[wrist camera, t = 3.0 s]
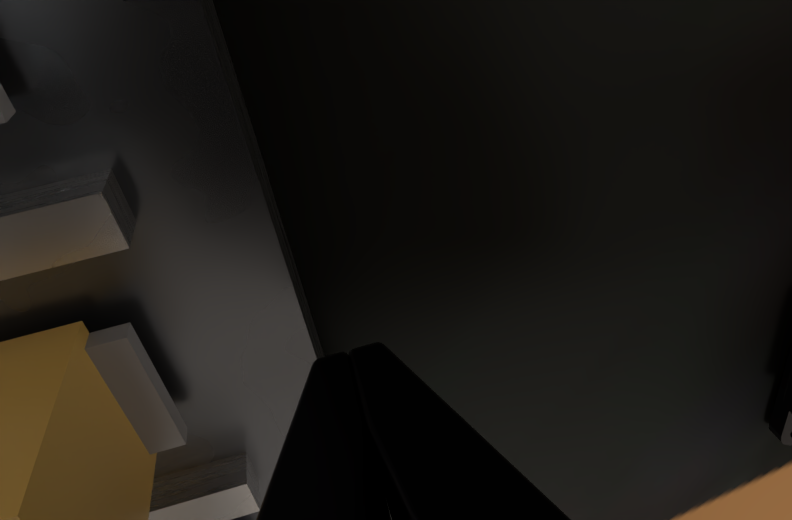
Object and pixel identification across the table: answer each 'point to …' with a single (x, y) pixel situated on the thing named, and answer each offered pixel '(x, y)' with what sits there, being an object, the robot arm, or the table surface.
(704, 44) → the table surface
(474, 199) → the table surface
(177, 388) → the panel
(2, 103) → the slider blue
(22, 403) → the slider amber
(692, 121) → the table surface
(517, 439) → the table surface
